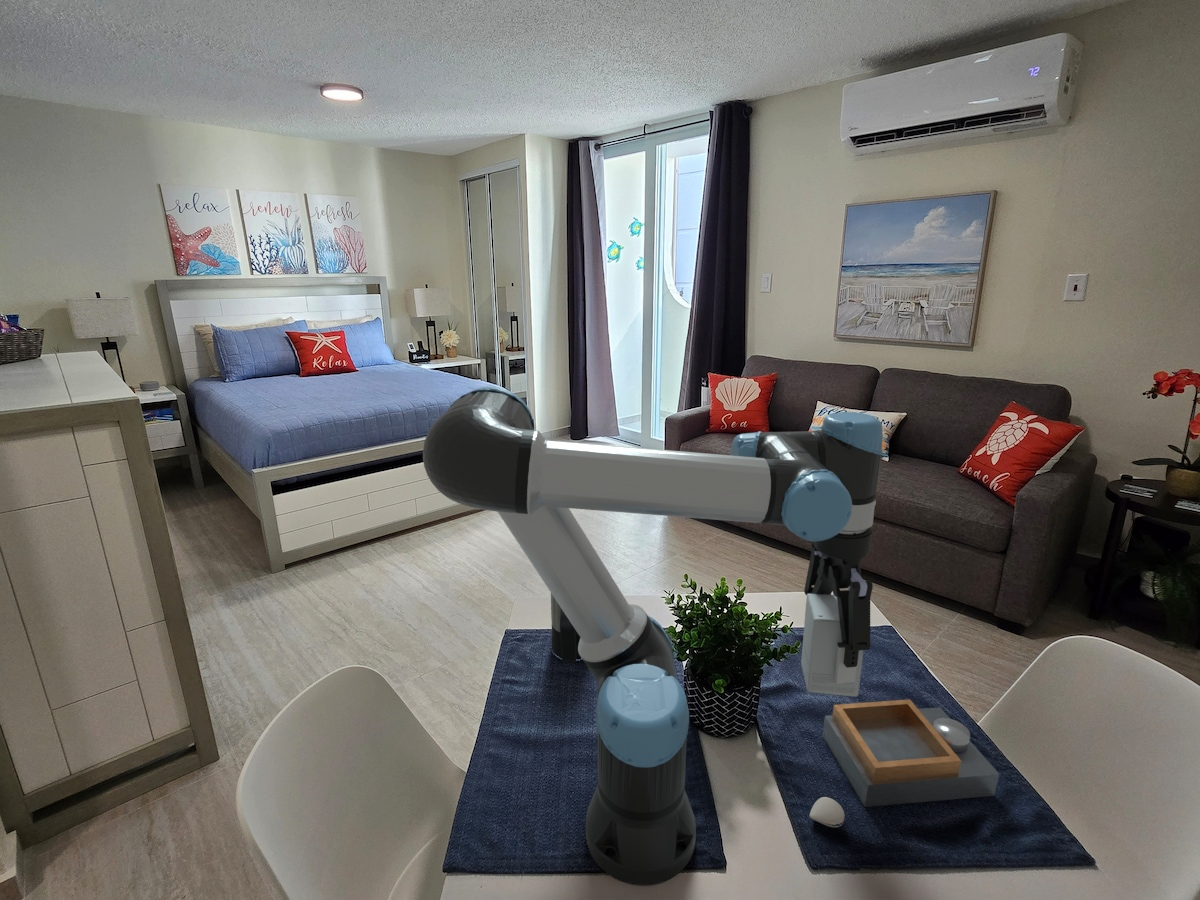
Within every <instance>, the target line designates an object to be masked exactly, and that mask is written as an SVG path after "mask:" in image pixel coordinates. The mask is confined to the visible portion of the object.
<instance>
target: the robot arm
mask: <svg viewBox="0 0 1200 900" xmlns="http://www.w3.org/2000/svg"><path fill="white" fill-rule="evenodd" d="M531 412H532V411H531V410H530V408H529V407H528V405H527V403H525V401H524V400H523V399H522V398H521V397H520V396H519V395H517V394H516V393H515V392H513V391H511V390H508V389H507V388H506V389H505V388H503V387H496V386H484V387H482V386H481V387H479V388H475V389H473V390H471V391H469V392H467V393H466V394H462V395H461V396H460V397H459V398H457V399H455V400H454V401H453V402H452V403H451V405H450V406H449V408H448V409H447V410H446V411H445V412H444V413H443V415H441V416H440V417H439V418H438V419H437V420H436V421H435V422H434V423H433V424H432V426H431V427H429V428H430V429H429V430H428V432H427V434H426V436H425V440H424V442H423V448H422V449H423V450H422V451H423V452H422V461H423V467H424V469H425V474H426V475H427V477H428V479H429V481H430V482H431V484H432V485H433V486H434V487H435V488H436V490H437V491H438V492H439V493H441V494H442V495H444V496H445V498H448V499H449V500H450V501H453V502H455V503H458V504H460V505H463V506H465V507H469V508H473V509H478V510H483V511H490V512H497V513H498V515H499V516H500V518H501V520H503V522H504V524H505V525H506V527H507V528H508V529H509V531H510V533H511V535H512V536H513V538H515V541H516V542H517V543H518V545H519V546H520V548H521V550H522V552H524V554H525V556H526V557H527V559H528V560H529V562H530V563H531V565H532V566H533V568H534V569H535V571H536V572H537V574H538V576H539V577H540V578H541V580H542V581H543V583H544V585H545V586H546V587H547V589H548V590H549V592H550V594H551V593H552V595H553V596H554V598H555V599H556V601H557V602H558V604H559V605H560V607H561V608H562V610H563V612H564V613H565V615H566V616H567V618H568V619H569V621H570V622H571V624H572V625H573V627H574V628H575V630H576V631H577V633H578V634H579V636H580V637H581V638H580V641H579V644H578V652H579V655H580V656H581V658H582V659H583V661H582V662H584V664H585V665H586V666H587V668H588V670H589V671H590V673H591V675H592V676H593V678H594V680H595V681H596V683H597V702H596V706H595V722H596V726H597V729H596V730H597V735H596V736H597V785H596V788H595V790H594V792H593V795H592V798H591V800H590V802H589V805H588V808H587V810H586V816H585V841H586V840H587V841H586V845H588V846H587V849H588V848H589V849H588V851H589V853H590V856H591V857H592V859H593V860H594V862H595V863H596V864H597V866H598V867H599V868H600V869H602V870H603V871H604V872H605V873H606V874H608V875H610V877H612V878H614V879H616V880H618V881H621V882H623V883H626V884H630V885H636V886H637V885H638V886H651V885H656V884H661V883H664V882H666V881H669V880H670V879H672V878H675V876H677V875H678V874H680V872H682V871H683V870H684V869H685V867H686V866H687V865H688V864H689V862H690V860H691V859H692V856H693V854H694V851H695V846H696V835H697V834H696V828H697V827H696V824H697V823H696V818H695V815H694V812H693V811H694V810H693V809H692V806H691V803H690V801H689V797H688V795H687V792H686V789H685V788H686V787H685V781H686V762H687V741H688V740H687V739H688V732H689V725H690V724H689V723H690V712H689V706H688V700H687V696H686V692H685V689H683V687H682V685H681V683H680V682H679V680H677V678H678V677H677V674H676V668H675V663H674V651H673V647H672V643H671V640H670V638H669V636H668V635H667V632H666V631H665V629H664V627H663V626H662V625H661V624H660V622H658V621H657V620H656V619H655V618H653V617H651V616H650V615H648V614H647V613H646V611H645V609H644V608H643V607H641V606H640V605H637V604H630V603H629V602H628V600H627V599H626V597H625V596H624V594H623V592H622V591H621V590H620V588H619V586H618V584H617V583H616V582H615V580H614V578H613V576H612V575H611V573H610V572H609V570H608V569H607V567H606V565H605V564H604V562H603V561H602V559H601V557H600V556H599V554H598V552H597V550H596V549H595V548H594V546H593V544H592V542H590V539H589V538H588V537H587V535H586V533H585V532H584V530H583V528H582V527H581V525H580V524H579V522H578V519H576V517H575V515H574V514H573V512H572V511H571V509H575V510H586V511H587V510H589V511H599V512H601V511H602V512H610V513H611V512H612V513H613V512H614V513H626V514H638V515H639V514H640V515H649V516H650V515H652V516H665V517H667V516H668V517H676V518H691V519H702V520H716V521H726V522H727V521H728V522H730V521H731V522H740V523H741V522H742V523H751V524H752V523H753V524H754V523H755V524H765V525H776V526H785V528H787V530H789V532H791V533H793V534H794V535H796V536H797V537H799V538H801V539H803V540H805V541H809V542H810V558H809V563H808V569H807V574H806V579H805V583H804V584H805V585H804V589H803V590H804V594H805V596H807V594H825V595H834V596H836V597H837V602H838V611H839V619H840V628H841V637H842V641H839V642H838V643H837V645H838V649H837V659H836V669H835V679H834V681H835V682H836V683H837V684H841V683H851V682H855V677H856V668H857V663H858V654H859V651H860V650H863V651H870V649H871V596H872V592H873V587H874V586H873V583H872V581H871V580H864V578H862V576H861V572H862V571H861V561H862V559H864V558H865V557H866V556H869V554H870V552H871V547H872V537H873V529H872V526H873V525H874V516H875V515H874V514H875V506H876V504H877V501H876V498H877V491H878V490H877V489H878V480H879V473H880V465H881V459H882V458H881V457H882V455H883V441H884V440H883V436H884V435H883V432H884V431H883V429H884V428H883V424H882V422H881V421H880V419H878V418H877V417H875V416H874V415H871V414H868V413H863V412H856V411H855V412H854V411H839V412H836V413H835V412H834V413H828V414H827V415H826V416H825V417H824V418H823V420H822V421H823V422H822V425H821V428H820V429H819V430H817V429H816V430H810V431H808V430H807V431H805V430H804V431H766V432H765V431H762V430H761V431H757V432H746V433H740V434H737V435H736V436H735V437H734V439H733V440H732V443H731V447H730V455H729V454H720V453H719V454H717V453H705V452H695V451H694V452H692V451H682V450H681V451H680V450H670V449H669V450H668V449H658V448H656V449H655V448H644V447H633V446H632V447H631V446H623V445H622V446H620V445H609V444H607V445H606V444H599V443H598V444H597V443H585V442H575V441H574V442H573V441H564V440H563V441H562V440H561V441H559V440H549V439H547V438H545V436H544V435H543V434H542V433H541V431H540V430H536V429H535V422H534V421H535V420H534V418H533V416H532V413H531ZM841 589H842V590H841ZM845 589H846V590H845Z"/></svg>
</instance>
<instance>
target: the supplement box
mask: <svg viewBox="0 0 1200 900" xmlns="http://www.w3.org/2000/svg"><path fill="white" fill-rule="evenodd" d="M805 602H806V603H805V612H804V624H803V625H804V626H803V638H802V651H801V661H800V664H801V669H802V675H803V676H804V677H803V678H804V681H805V687H806V692H808V693H814V694H823V695H824V694H825V695H833V696H844V697H854V698H856V697H858V696H859V694H860V693H859V692H860V684H861V677H862V676H861V675H862V668H863V667H862V666H863V658H864V657H863V656H864V650H860V651H859V654H858V663H857V668H856V677H855V682H851V683H841V684H837V683H836V682H835V681H834V679H835V669H836V659H837V649H838V645H837V643H838V642H839V641H842V637H841V628H840V619H839V611H838V602H837V597H836V596H834V595H833V594H831V595H825V594H807V595H806V601H805Z"/></svg>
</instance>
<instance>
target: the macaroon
mask: <svg viewBox="0 0 1200 900" xmlns="http://www.w3.org/2000/svg"><path fill="white" fill-rule="evenodd" d="M845 816H846V815H845V811H844V809H843V807H842V806H841V804H839V803H838V801H837V800H836V799H833V798H832V797H831V798H830V797H828V796H823V797H820V798H818V799H817V800H816V801H815V802H814V804H813V805H812V808H811V810H810V812H809V818H810V819H812V820H813V821H816V822H818V823H820V824H822V825H824V826H827V827H830V828H839V827H841V826H843V824H844V822H845ZM840 823H841V825H840V826H832V825H836V824H840Z"/></svg>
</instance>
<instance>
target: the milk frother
mask: <svg viewBox="0 0 1200 900" xmlns="http://www.w3.org/2000/svg"><path fill="white" fill-rule="evenodd" d="M550 605H551V606H550V608H551V609H550V611H551V612H550V615H551V646H552V650H553V652H554V653H555V654H556V655H557V656H559V657H560V658H562V660H561V662H562V664H571V665H572V664H576V663H577V662H576V659H581V656H580V655H579V652H578V644H579V641H580V638H581V637H580V636H579V634H578V633H577V631H576V630H575V628H574V627H573V625H572V624H571V622H570V621H569V619H568V618H567V616H566V615H565V613H564V612H563V610H562V608H561V607H560V605H559V604H558V602H557V601H556V599H555V598H554V596H553V595H552V593H551V592H550Z"/></svg>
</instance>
